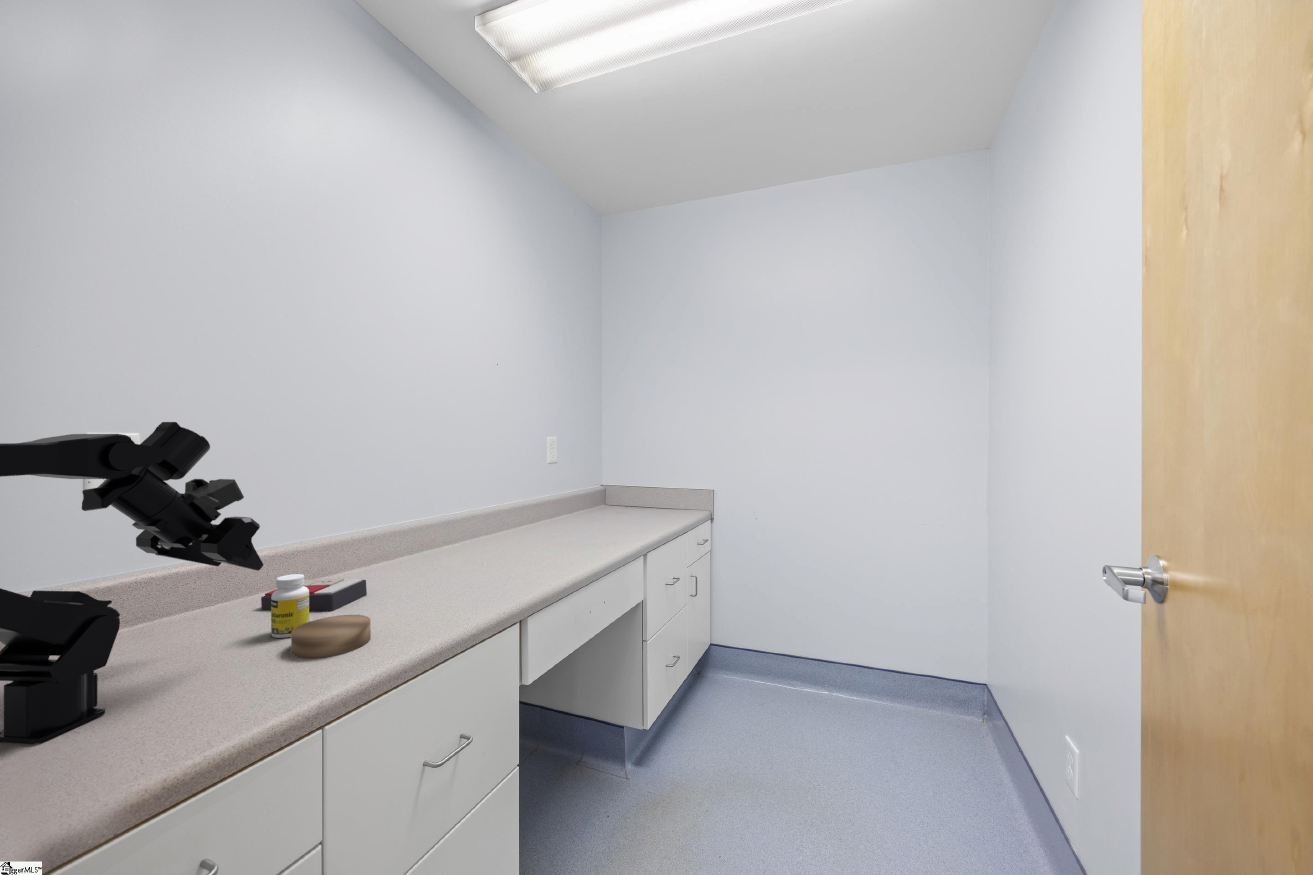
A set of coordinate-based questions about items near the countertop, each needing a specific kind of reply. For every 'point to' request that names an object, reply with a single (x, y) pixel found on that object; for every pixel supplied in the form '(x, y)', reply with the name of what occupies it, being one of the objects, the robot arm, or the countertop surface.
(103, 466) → the robot arm
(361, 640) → the pedestal
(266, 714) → the countertop surface
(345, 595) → the red and grey box
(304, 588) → the supplement bottle
